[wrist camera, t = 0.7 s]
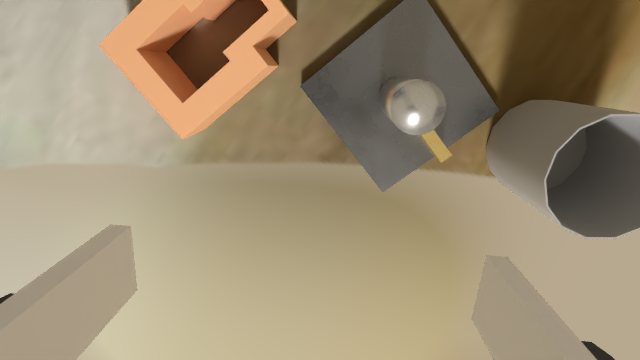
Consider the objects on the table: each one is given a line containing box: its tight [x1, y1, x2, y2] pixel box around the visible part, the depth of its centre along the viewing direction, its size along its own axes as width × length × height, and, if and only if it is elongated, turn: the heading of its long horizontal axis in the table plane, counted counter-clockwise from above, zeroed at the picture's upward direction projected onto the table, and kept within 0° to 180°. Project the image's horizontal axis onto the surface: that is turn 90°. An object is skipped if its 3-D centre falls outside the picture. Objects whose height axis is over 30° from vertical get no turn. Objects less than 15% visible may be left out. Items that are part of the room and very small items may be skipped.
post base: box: [300, 0, 500, 192], centre depth 28 cm, size 12×12×9 cm
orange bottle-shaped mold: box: [99, 0, 297, 139], centre depth 29 cm, size 12×9×5 cm
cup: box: [486, 100, 640, 239], centre depth 28 cm, size 8×8×10 cm
